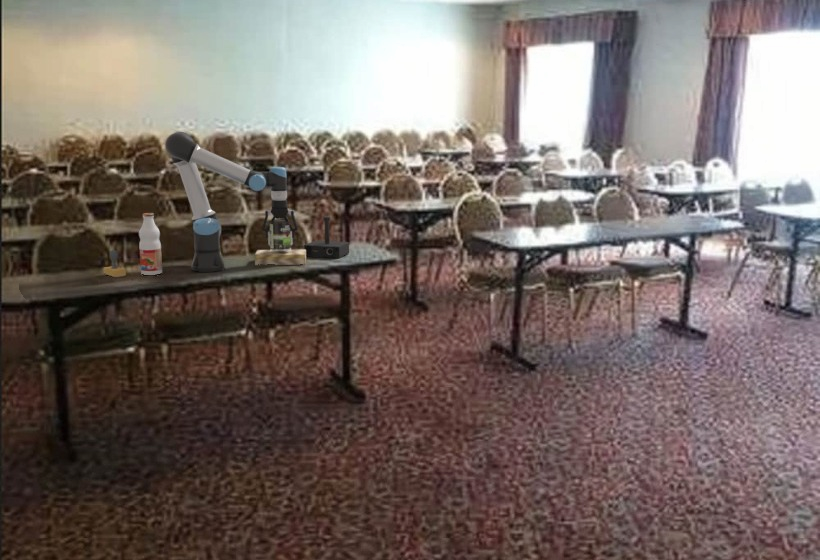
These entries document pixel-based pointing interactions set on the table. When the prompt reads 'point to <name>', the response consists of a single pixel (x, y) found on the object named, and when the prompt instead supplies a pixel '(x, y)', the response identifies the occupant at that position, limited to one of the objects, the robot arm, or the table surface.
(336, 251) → the projector
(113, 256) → the rubber stamp
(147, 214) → the fruit juice
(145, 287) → the table surface
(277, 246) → the coffee can
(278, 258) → the beige flat block
